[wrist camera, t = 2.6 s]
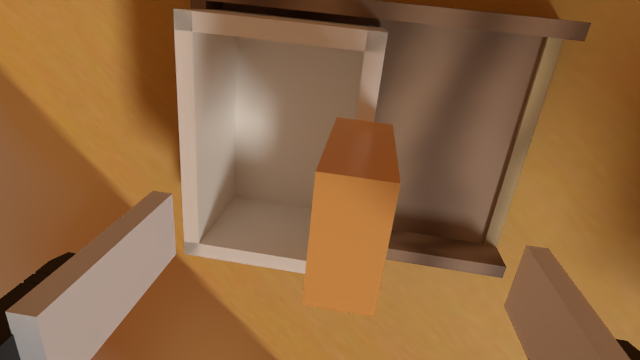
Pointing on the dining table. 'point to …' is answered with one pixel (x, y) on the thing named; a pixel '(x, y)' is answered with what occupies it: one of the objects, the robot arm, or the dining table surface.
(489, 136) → the bay
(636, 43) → the dining table surface
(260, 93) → the box
